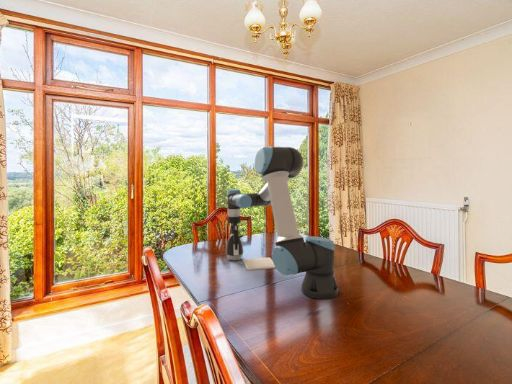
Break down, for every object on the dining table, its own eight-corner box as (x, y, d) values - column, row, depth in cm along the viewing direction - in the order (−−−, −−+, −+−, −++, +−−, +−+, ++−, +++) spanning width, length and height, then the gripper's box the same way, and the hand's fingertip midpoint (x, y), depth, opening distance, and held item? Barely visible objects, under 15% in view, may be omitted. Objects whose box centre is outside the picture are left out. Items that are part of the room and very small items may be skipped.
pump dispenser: (243, 261, 160) (242, 235, 159) (224, 261, 160) (224, 235, 159) (244, 256, 170) (243, 231, 169) (227, 256, 171) (226, 231, 170)
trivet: (276, 267, 150) (276, 266, 150) (247, 270, 147) (247, 268, 147) (269, 258, 165) (269, 257, 165) (242, 260, 162) (242, 259, 162)
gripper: (243, 219, 152) (244, 257, 154) (237, 212, 176) (238, 245, 178) (229, 219, 151) (230, 258, 152) (225, 212, 175) (226, 246, 177)
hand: (234, 251), depth 165 cm, fingers open, 13 cm apart
